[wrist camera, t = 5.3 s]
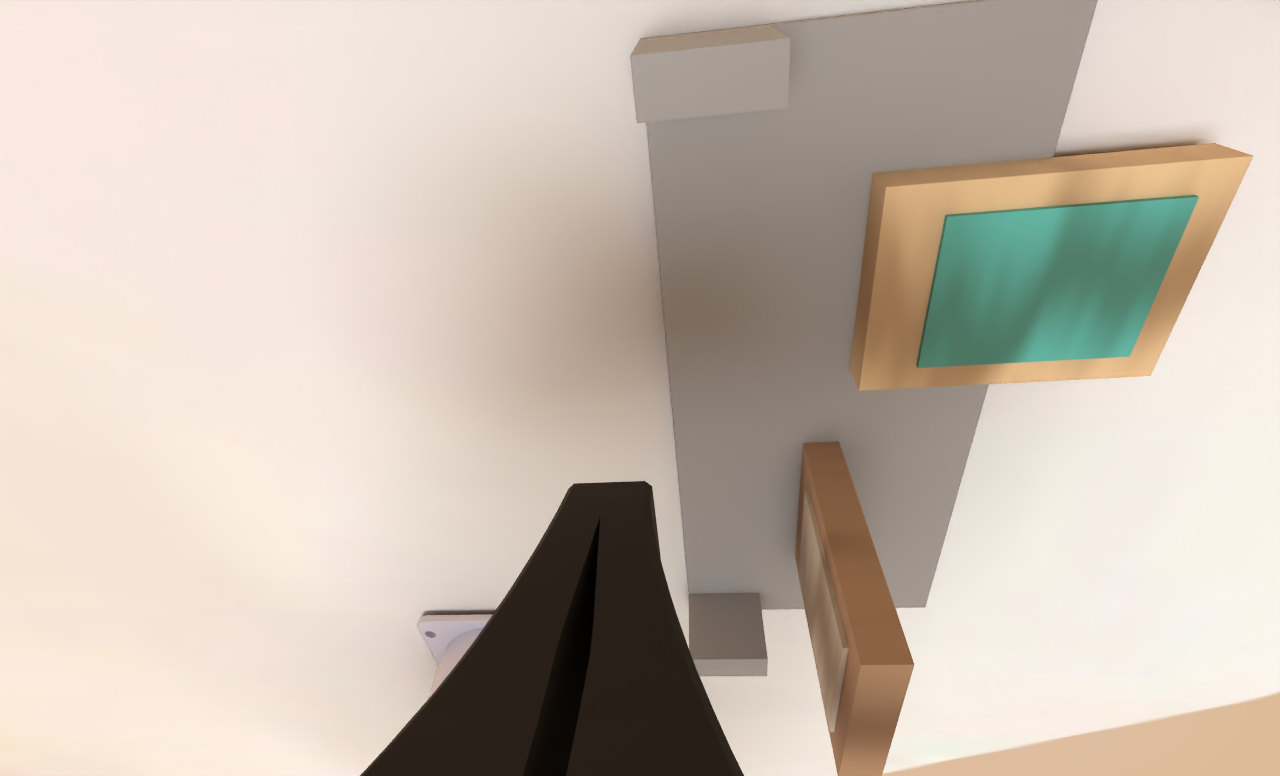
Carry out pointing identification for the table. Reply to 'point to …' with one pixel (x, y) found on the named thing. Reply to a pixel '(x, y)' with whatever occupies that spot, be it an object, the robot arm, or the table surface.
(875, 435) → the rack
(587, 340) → the table surface
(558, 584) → the robot arm
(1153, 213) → the oak tile
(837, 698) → the walnut tile
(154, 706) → the table surface
